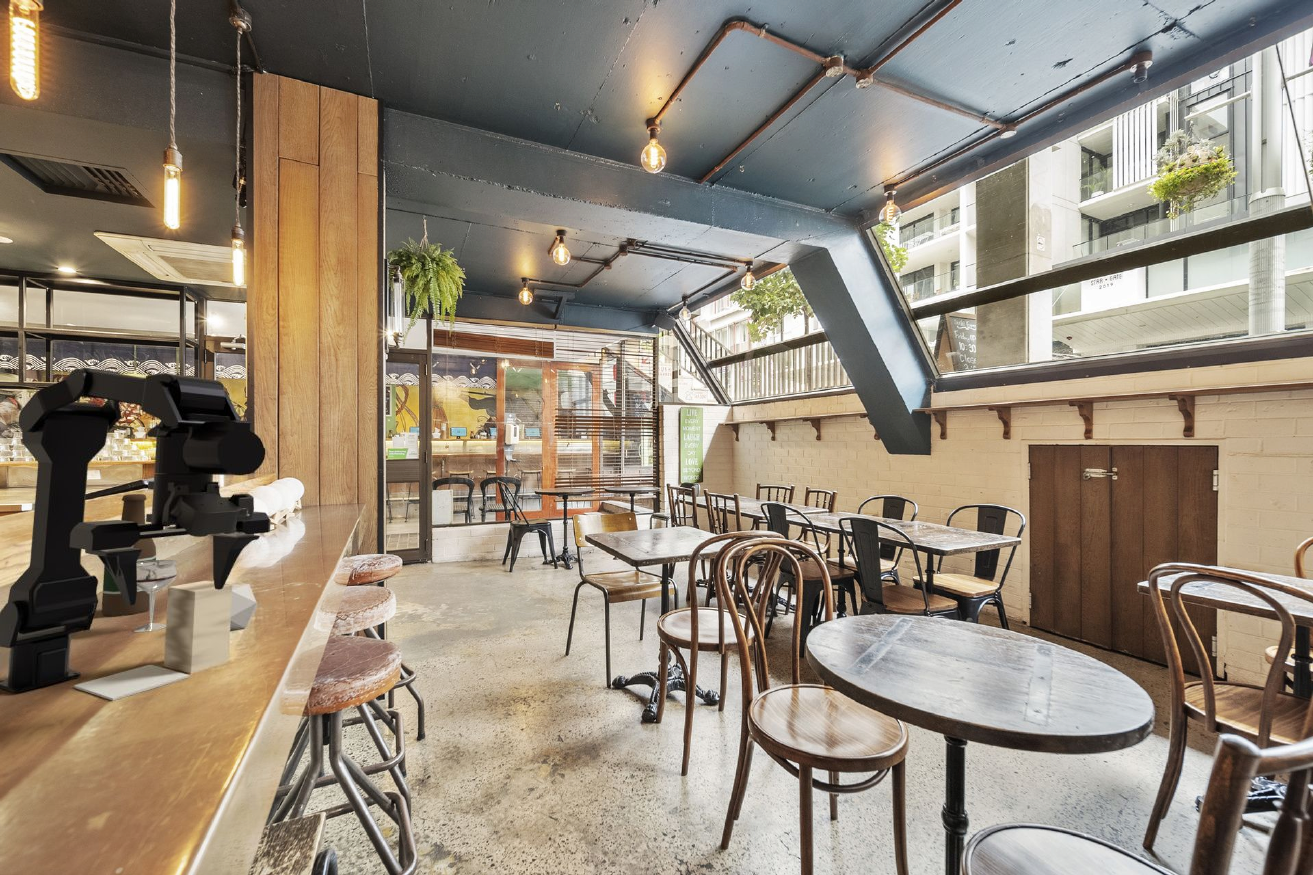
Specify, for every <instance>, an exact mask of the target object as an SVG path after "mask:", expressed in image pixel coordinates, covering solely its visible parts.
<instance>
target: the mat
mask: <svg viewBox="0 0 1313 875" xmlns="http://www.w3.org/2000/svg"><path fill="white" fill-rule="evenodd" d="M188 678H190V674H186V673H183V672H179V671H177V670H176V671H175V670H172V669H169V668H164V667H161V666H157V665H155V664H154V665H153V664H148V665H143V666H140V667H136V668H133V669H129V670H126V671H122V672H118V673H114V674H111V675H108V676H103V677H99V678H97V679H92V680H89V681H84V682H82V683H77V684H74V685H73V688H74V689H77V690H80V691H83V692H86V693H89V694H92V695H95V696H96V697H97V696H98V697H101V698H104V699H106V700H110V701H112V702H113V701H117V700H120V699H124V698H127V697H129V696H133V695H137V694H140V693H143V692H145V691H149V690H152V689H155V688H160V687H163V686H165V685H169V684H173V683H176V682H179V681H183V680H184V679H185V680H186V679H188Z"/></svg>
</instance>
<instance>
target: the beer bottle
mask: <svg viewBox="0 0 1313 875" xmlns="http://www.w3.org/2000/svg"><path fill="white" fill-rule="evenodd" d="M146 500H147V496H146V494H144V493H143V494H142V493H133V494H130V493H129V494H125V495H123V496H122V498H121V501H123V505H122V511H121V518H120V520H123V521H131V522H137V524H138V525H139V524H146V507H145V505H146V503H145V501H146ZM134 548H137V549H142V551H141V554H140V556H139V558H138V560H137V563H138V562H144V561H154V560H157V546H156V544H155V542H154V538H150V539H140V540H139V541H138V542H136V543H135V544H134ZM103 565H104V564H103ZM101 596H102V597H101V614H102V615H103V616H104V615H108V616H107V617H113V616H114V617H122V615H124V616H133V615H136V614H141V613H145V612H149V611H150V594H148V593H147V591H143V590H139V589H137V597H136V603H135V605H133V606H129V605H127V604H126V602H125V601H124V599H123V597H122V595H121V593H120V591H119V589H118V587H117V585H116V583H115V581H114V579H113V578H112V576H111V574H110V572H109V571H108V569H107V568H106V567H105V565H104V566H103V582H102V595H101ZM148 610H149V611H148Z"/></svg>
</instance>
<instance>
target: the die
mask: <svg viewBox="0 0 1313 875" xmlns="http://www.w3.org/2000/svg"><path fill="white" fill-rule="evenodd" d="M231 585H232V584H231ZM258 607H259V605H258V602H257V600H256V597H255V595H254V593H253V590H252V588H251V586H250V584H249V583H245V584H237V585H236V584H234V585H232V601H231V622H230V631H232V630H241V629H246V628H247V627H248V625H249V623H250V621H251V619H252V618H253V617H254V614H256V611H257V610H258Z"/></svg>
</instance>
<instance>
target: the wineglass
mask: <svg viewBox="0 0 1313 875" xmlns="http://www.w3.org/2000/svg"><path fill="white" fill-rule="evenodd" d="M176 564H178V560H177V559H156V560H154V561H144V562H138V563H137V589H139V590H143V591H147V593H148V594H150V610H149V623H146V624H144V625H141V626H138V627H134V628H133V629H131V631H132V632H134V633H135V632H136V633H144V632H153V631H158V630H162V629H164V628H165V629H166V623H162V622H161V623H159V622H157V623H156V622H153V619H154V611H155V600H156V594H157V593H158V592H159V591H160V590H162V589H163V588H166V587H169V585H170V584H171V583H173V582H174V581H175V579H176V578H177V575H178V568H177V567H176Z"/></svg>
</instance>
